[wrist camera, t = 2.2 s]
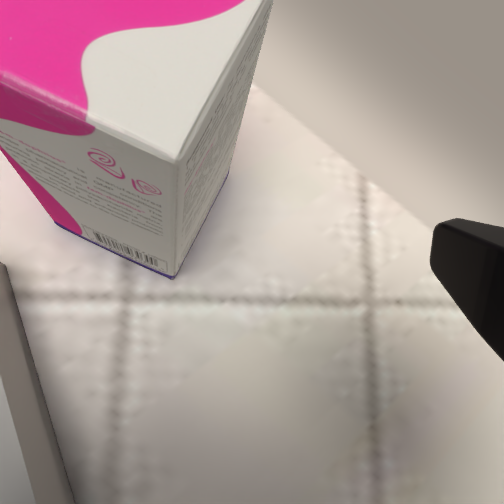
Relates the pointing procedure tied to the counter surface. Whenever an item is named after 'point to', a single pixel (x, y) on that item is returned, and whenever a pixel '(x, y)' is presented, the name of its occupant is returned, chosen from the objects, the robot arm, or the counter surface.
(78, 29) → the supplement box
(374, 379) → the counter surface
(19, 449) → the bin
